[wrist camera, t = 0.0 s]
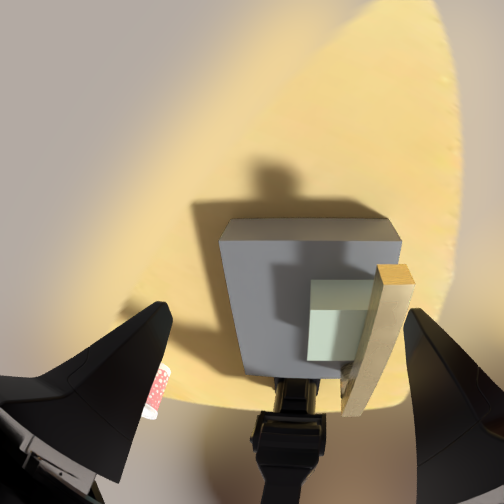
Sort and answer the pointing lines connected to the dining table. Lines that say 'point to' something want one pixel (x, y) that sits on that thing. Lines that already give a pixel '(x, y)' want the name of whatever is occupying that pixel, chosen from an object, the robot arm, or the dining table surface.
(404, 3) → the dining table surface
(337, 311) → the rectangular block
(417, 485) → the robot arm
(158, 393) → the beverage cup
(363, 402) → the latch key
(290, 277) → the box
